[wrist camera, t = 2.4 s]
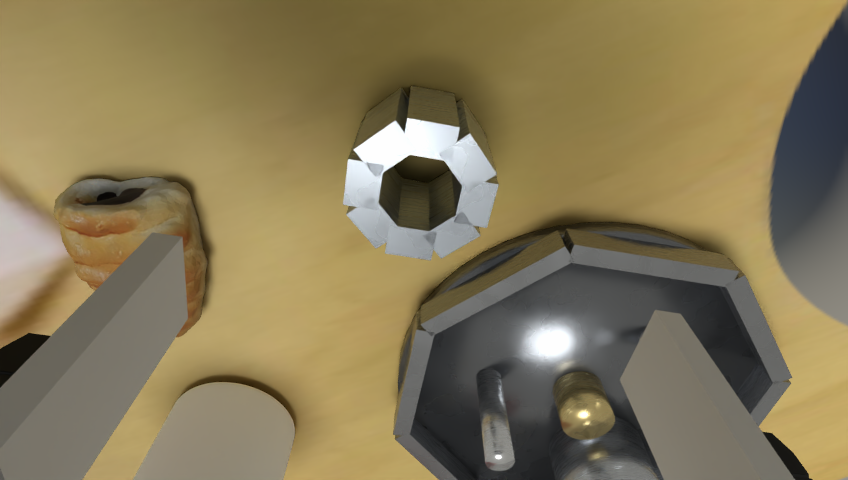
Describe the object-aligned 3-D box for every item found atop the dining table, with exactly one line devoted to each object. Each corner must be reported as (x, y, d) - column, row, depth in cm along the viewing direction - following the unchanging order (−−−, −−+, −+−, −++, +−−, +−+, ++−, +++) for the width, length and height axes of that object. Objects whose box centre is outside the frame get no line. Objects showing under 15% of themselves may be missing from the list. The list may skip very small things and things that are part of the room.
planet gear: (367, 77, 23) (353, 108, 19) (496, 100, 23) (511, 136, 19) (353, 195, 26) (338, 246, 22) (468, 214, 26) (476, 267, 22)
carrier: (433, 191, 26) (435, 266, 20) (831, 256, 28) (944, 344, 22) (377, 463, 37) (367, 565, 31) (665, 497, 39) (709, 600, 33)
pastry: (236, 315, 30) (212, 360, 27) (125, 318, 31) (88, 364, 27) (192, 169, 26) (156, 202, 22) (62, 174, 26) (8, 208, 23)
